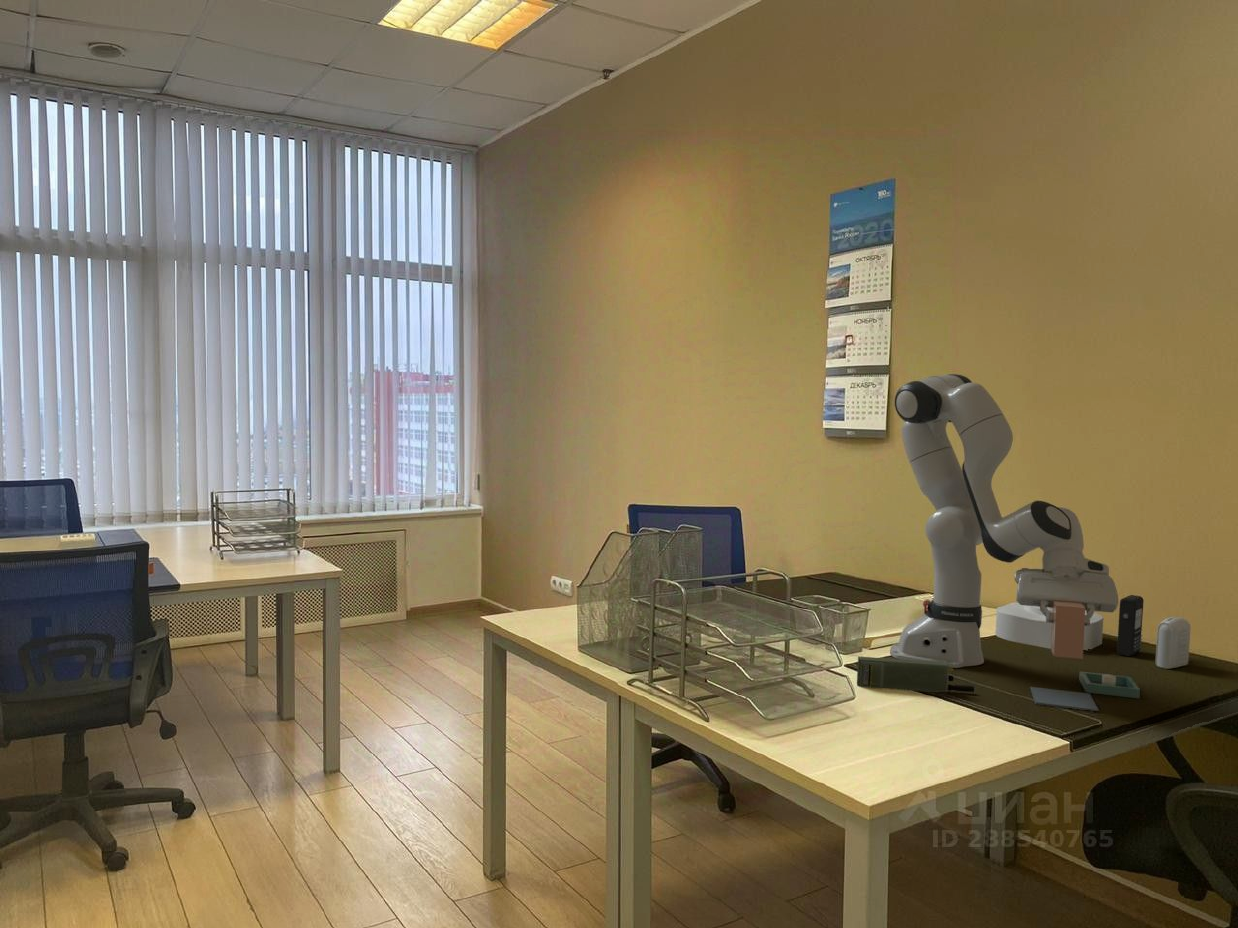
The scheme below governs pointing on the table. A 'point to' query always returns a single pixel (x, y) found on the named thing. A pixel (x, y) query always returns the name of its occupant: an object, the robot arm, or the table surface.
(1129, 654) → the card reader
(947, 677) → the handheld radio
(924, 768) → the table surface
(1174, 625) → the photo printer
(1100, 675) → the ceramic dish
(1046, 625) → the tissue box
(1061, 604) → the brown tall block
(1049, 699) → the rubber mat
